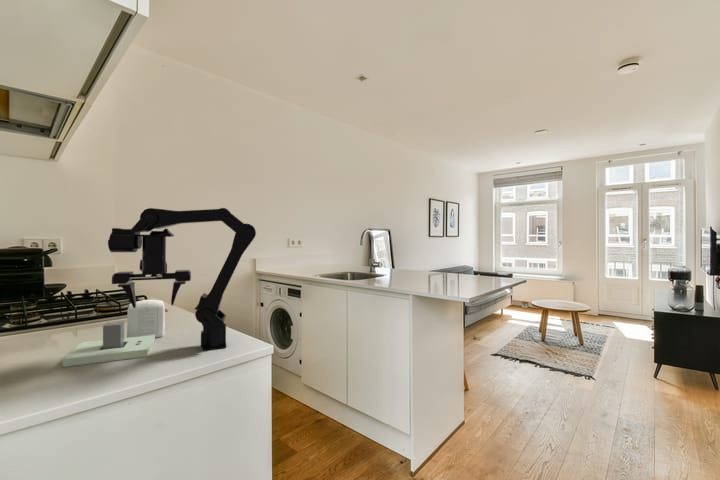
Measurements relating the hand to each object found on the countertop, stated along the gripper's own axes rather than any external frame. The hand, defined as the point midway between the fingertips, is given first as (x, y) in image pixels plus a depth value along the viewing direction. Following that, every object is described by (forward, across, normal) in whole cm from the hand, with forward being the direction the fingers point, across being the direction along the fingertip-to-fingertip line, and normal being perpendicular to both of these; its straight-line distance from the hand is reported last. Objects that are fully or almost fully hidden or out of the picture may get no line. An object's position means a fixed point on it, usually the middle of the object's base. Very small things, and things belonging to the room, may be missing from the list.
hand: (153, 306), depth 93 cm
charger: (+13, +10, -3) cm, 16 cm away
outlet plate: (+13, +10, -3) cm, 17 cm away
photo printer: (+13, +4, -15) cm, 20 cm away
